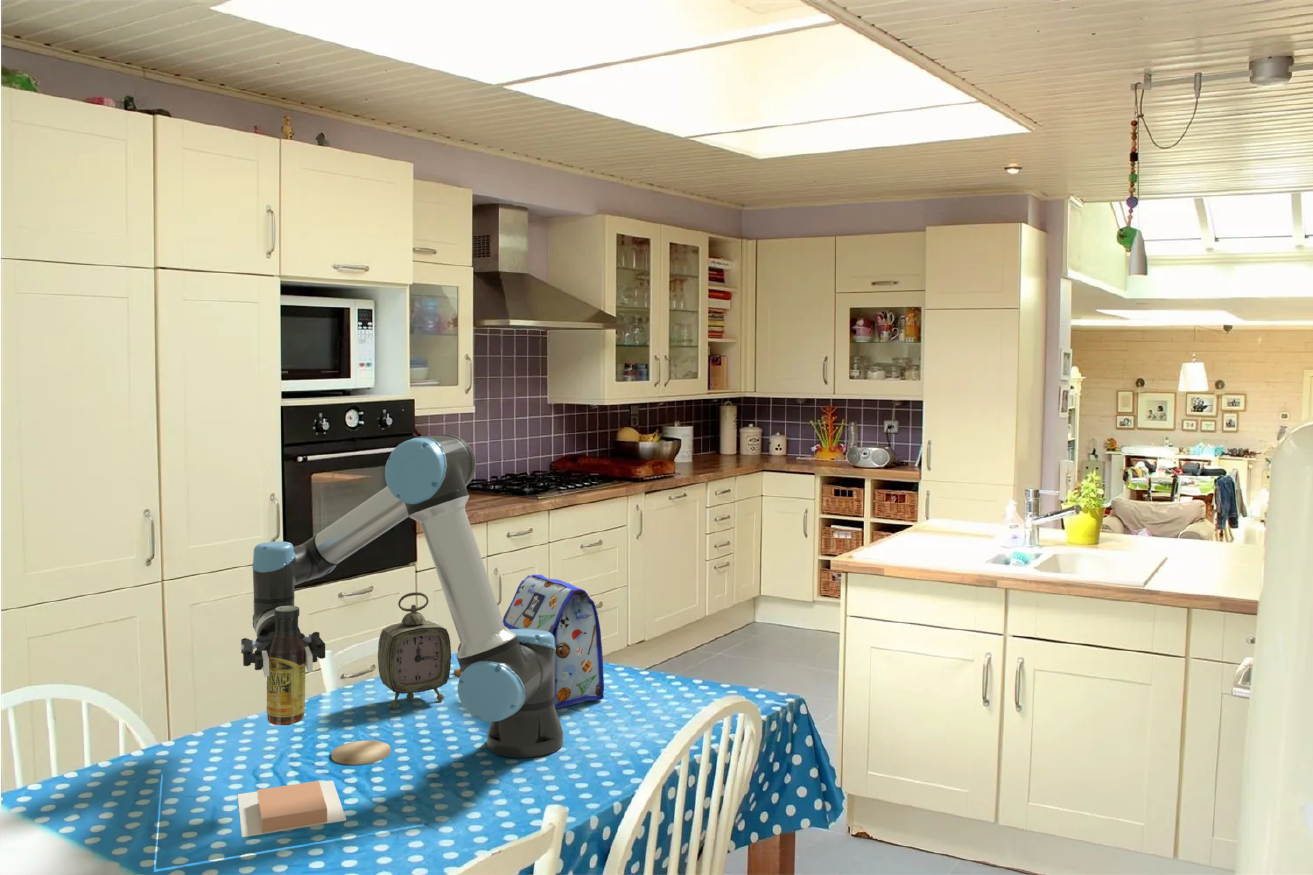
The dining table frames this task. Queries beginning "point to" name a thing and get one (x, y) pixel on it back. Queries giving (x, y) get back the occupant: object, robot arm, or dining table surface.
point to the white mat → (253, 827)
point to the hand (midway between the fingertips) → (288, 665)
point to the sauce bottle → (286, 670)
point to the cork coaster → (361, 752)
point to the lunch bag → (563, 634)
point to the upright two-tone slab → (291, 806)
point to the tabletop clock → (414, 654)
